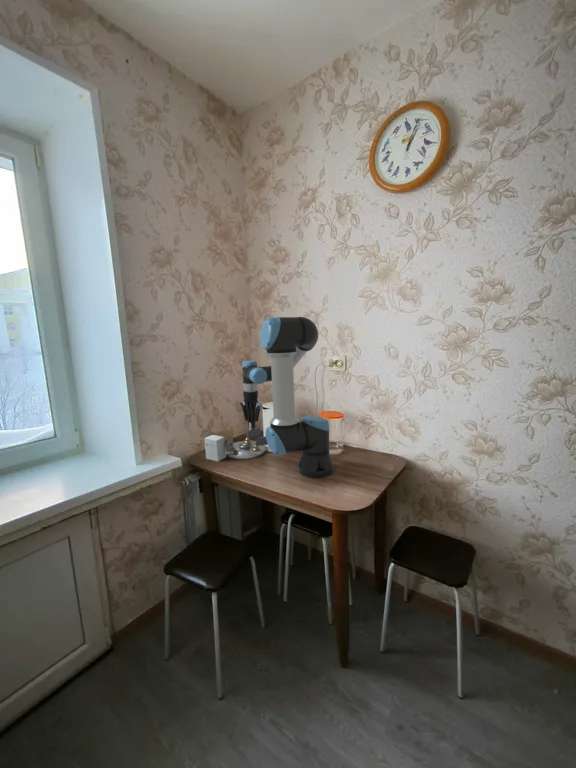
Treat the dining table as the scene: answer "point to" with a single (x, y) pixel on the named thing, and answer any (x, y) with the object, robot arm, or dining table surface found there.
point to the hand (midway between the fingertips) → (251, 433)
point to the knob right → (251, 434)
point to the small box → (215, 448)
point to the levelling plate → (245, 450)
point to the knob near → (259, 443)
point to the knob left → (229, 445)
